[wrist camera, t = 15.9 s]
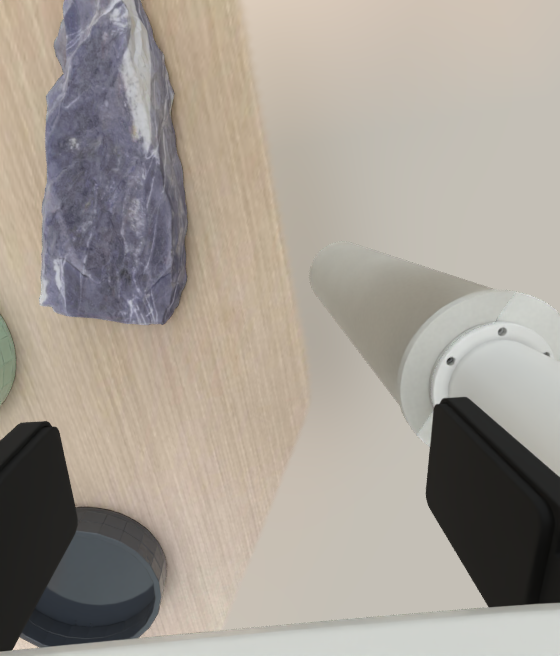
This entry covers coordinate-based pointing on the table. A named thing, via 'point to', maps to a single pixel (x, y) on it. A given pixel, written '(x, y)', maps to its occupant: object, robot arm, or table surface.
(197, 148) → the table surface
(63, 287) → the rock
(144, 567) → the slate bowl
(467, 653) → the robot arm
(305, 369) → the table surface
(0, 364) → the green bowl
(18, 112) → the table surface
